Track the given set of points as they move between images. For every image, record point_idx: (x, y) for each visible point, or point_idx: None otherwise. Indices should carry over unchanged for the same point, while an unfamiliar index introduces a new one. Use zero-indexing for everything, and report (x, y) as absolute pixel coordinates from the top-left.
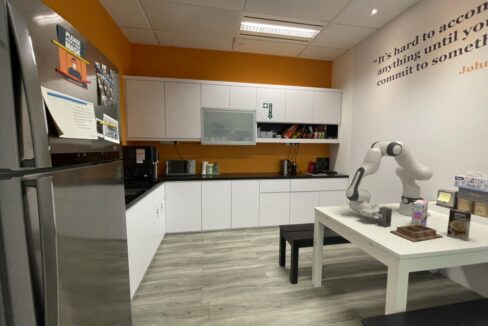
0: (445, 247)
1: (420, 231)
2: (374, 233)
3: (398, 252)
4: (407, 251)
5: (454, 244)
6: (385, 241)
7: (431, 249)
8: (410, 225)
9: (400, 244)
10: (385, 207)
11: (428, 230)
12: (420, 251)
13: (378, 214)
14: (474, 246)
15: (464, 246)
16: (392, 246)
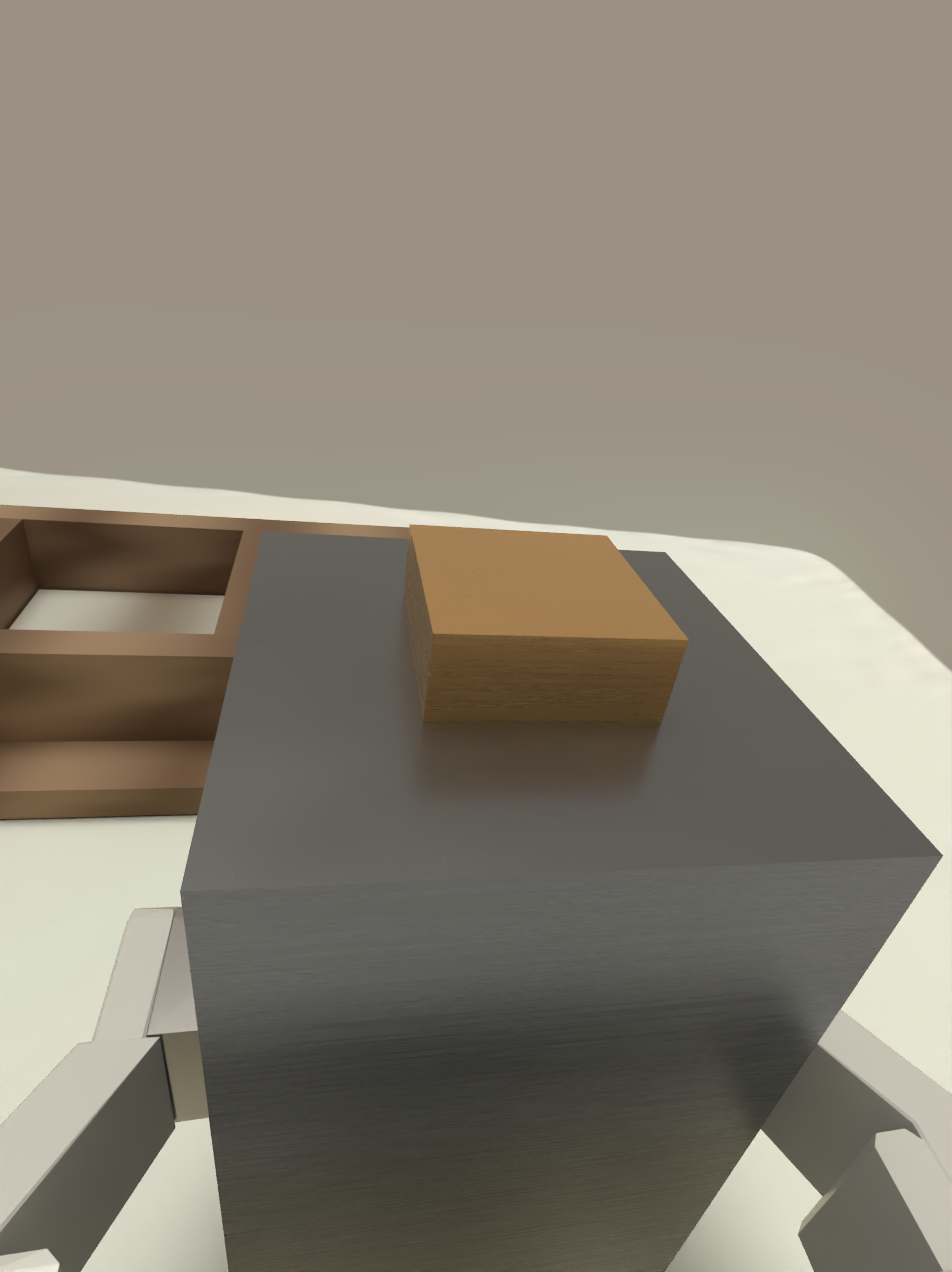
0: (317, 513)
1: (329, 533)
2: (944, 829)
3: (818, 560)
4: (733, 552)
5: (135, 509)
6: (855, 660)
7: (492, 526)
8: (169, 647)
9: (717, 604)
10: (620, 560)
11: (157, 521)
12: (621, 534)
13: (832, 1030)
14: (3, 470)
15: (102, 486)
16: (823, 603)
